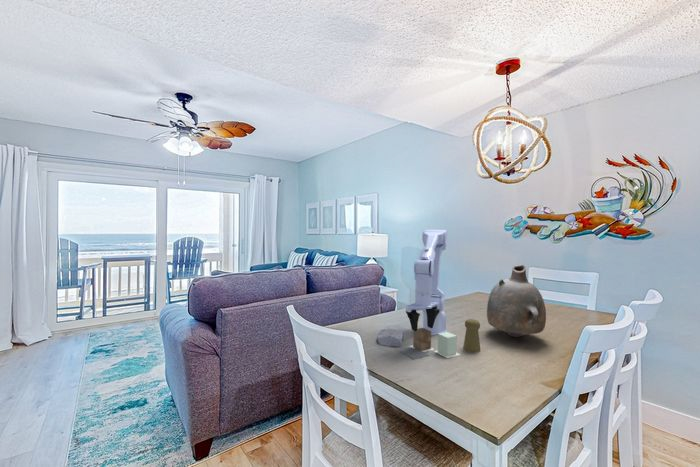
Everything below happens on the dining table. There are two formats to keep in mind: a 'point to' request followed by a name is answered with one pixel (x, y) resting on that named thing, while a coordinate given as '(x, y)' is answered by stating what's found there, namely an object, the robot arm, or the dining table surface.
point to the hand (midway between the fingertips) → (422, 328)
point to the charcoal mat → (414, 353)
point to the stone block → (390, 337)
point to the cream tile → (424, 350)
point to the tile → (446, 356)
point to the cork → (472, 336)
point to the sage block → (447, 343)
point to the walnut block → (422, 339)
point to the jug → (516, 305)
